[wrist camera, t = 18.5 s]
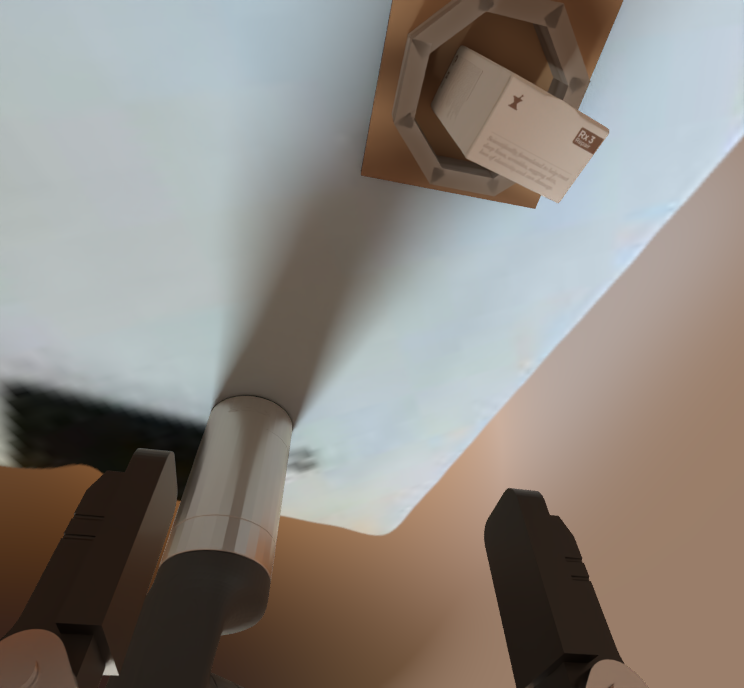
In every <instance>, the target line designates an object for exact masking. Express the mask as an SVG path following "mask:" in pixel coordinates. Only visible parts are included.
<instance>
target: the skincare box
mask: <svg viewBox="0 0 744 688" xmlns="http://www.w3.org/2000/svg"><path fill="white" fill-rule="evenodd" d="M431 108H432V110H433V111H434V113H435V114H436V116H437V117H438V118H439V120H440V121H441V122H442V124H443V125H444V127H445V128H446V130H447V131H448V133H449V134H450V136H451V137H452V138H453V140H454V141H455V143H456V144H457V145H458V147H459V148H460V149H461V151H462V153H463V154H464V156H465V158H466V159H468V160H470V161H472V162H474V163H477V164H479V165H481V166H483V167H485V168H487V169H489V170H491V171H493V172H495V173H497V174H499V175H501V176H503V177H505V178H507V179H509V180H511V181H513V182H515V183H517V184H519V185H521V186H523V187H525V188H527V189H530V190H532V191H534V192H536V193H538V194H540V195H542V196H544V197H546V198H548V199H550V200H553V201H555V202H556V203H559V202H560V201H561V199H562V198H563V197H564V195H565V194H566V192H567V191H568V189H569V188H570V187H571V185H572V184H573V183H574V181H575V180H576V178H577V177H578V176H579V174H580V173H581V171H582V170H583V169H584V167H585V166H586V164H587V163H588V162H589V160H590V159H591V157H592V156H593V155H594V153H595V152H596V151H597V149H598V148H599V146H600V145H601V144H602V142H603V141H604V139H605V138H606V137H607V136H608V134H609V129H608V128H606V127H605V126H603V125H602V124H600V123H598V122H597V121H595V120H593V119H592V118H590V117H588V116H587V115H585V114H583V113H582V112H580V111H578V110H577V109H575V108H573V107H572V106H570V105H569V104H568V103H566V102H564V101H563V100H561V99H559V98H556V97H555V96H553V95H551V94H550V93H548V92H546V91H544V90H543V89H541V88H539V87H538V86H536V85H534V84H532V83H531V82H529V81H527V80H526V79H524V78H522V77H520V76H518V75H517V74H515V73H513V72H511V71H510V70H508V69H506V68H504V67H502V66H500V65H499V64H497V63H495V62H493V61H491V60H489V59H488V58H486V57H484V56H482V55H480V54H479V53H477V52H475V51H473V50H471V49H469V48H467V47H465V46H463V45H462V46H460V47H459V49H458V51H457V53H456V55H455V57H454V59H453V61H452V63H451V64H450V66H449V68H448V70H447V72H446V74H445V76H444V78H443V80H442V82H441V84H440V86H439V88H438V90H437V92H436V94H435V97H434V99H433V101H432V103H431Z"/></svg>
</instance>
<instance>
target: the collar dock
mask: <svg viewBox="0 0 744 688" xmlns="http://www.w3.org/2000/svg"><path fill="white" fill-rule="evenodd" d="M622 2H623V0H392V5H391V10H390V16H389V21H388V27H387V32H386V38H385V43H384V49H383V54H382V60H381V65H380V71H379V76H378V82H377V87H376V92H375V98H374V103H373V109H372V114H371V120H370V125H369V131H368V136H367V142H366V147H365V153H364V158H363V164H362V169H361V175H362V176H367V177H372V178H377V179H383V180H388V181H393V182H398V183H403V184H409V185H414V186H419V187H424V188H430V189H435V190H440V191H445V192H450V193H456V194H461V195H466V196H471V197H476V198H482V199H487V200H492V201H497V202H503V203H508V204H513V205H518V206H523V207H529V208H534V209H535V208H536V205H537V203H538V201H539V198H540V196H541V195H540V194H538V193H536V192H534V191H532V190H530V189H527V188H525V187H523V186H521V185H519V184H517V183H515V182H513V181H511V180H509V179H507V178H505V177H503V176H501V175H499V174H497V173H495V172H493V171H491V170H489V169H487V168H485V167H483V166H481V165H479V164H477V163H474V162H472V161H470V160H468V159H466V158H465V156H464V154H463V153H462V151H461V149H460V148H459V147H458V145H457V144H456V143H455V141H454V140H453V138H452V137H451V136H450V134H449V133H448V131H447V130H446V128H445V127H444V125H443V124H442V122H441V121H440V120H439V118H438V117H437V116H436V114H435V113H434V111H433V110H432V108H431V103H432V101H433V99H434V97H435V94H436V92H437V90H438V88H439V86H440V84H441V82H442V80H443V78H444V76H445V74H446V72H447V70H448V68H449V66H450V64H451V63H452V61H453V59H454V57H455V55H456V53H457V51H458V49H459V47H460V46H462V45H463V46H465V47H467V48H469V49H471V50H473V51H475V52H477V53H479V54H480V55H482V56H484V57H486V58H488V59H489V60H491V61H493V62H495V63H497V64H499V65H500V66H502V67H504V68H506V69H508V70H510V71H511V72H513V73H515V74H517V75H518V76H520V77H522V78H524V79H526V80H527V81H529V82H531V83H532V84H534V85H536V86H538V87H539V88H541V89H543V90H544V91H546V92H548V93H550V94H551V95H553V96H555V97H556V98H559V99H561V100H563V101H564V102H566V103H568V104H569V105H570V106H572V107H573V108H575V109H577V110H578V109H579V106H580V104H581V102H582V99H583V97H584V94H585V92H586V90H587V87H588V85H589V83H590V78H591V76H592V73H593V71H594V68H595V66H596V64H597V61H598V59H599V57H600V54H601V52H602V50H603V47H604V45H605V42H606V40H607V38H608V35H609V33H610V31H611V28H612V26H613V24H614V21H615V19H616V17H617V14H618V12H619V9H620V7H621V5H622Z"/></svg>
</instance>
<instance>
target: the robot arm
mask: <svg viewBox="0 0 744 688" xmlns="http://www.w3.org/2000/svg"><path fill="white" fill-rule="evenodd" d="M292 428H293V427H292V421H291V419H290V417H289V415H288V414H287V413H286V412H285V410H283V409H282V408H281V407H280V406H278V405H277V404H275V403H273V402H271V401H269V400H266V399H263V398H259V397H254V396H237V397H232V398H229V399H226V400H224V401H222V402H220V403H219V404H217V405H216V406H215V407H214V408H213V410H212V411H211V413H210V416H209V419H208V422H207V425H206V428H205V431H204V434H203V437H202V440H201V442H200V445H199V448H198V451H197V454H196V457H195V460H194V463H193V466H192V469H191V472H190V475H189V478H188V481H187V484H186V487H185V490H184V493H183V496H182V499H181V502H180V506H179V508H178V512H177V514H176V517H175V520H174V523H173V526H172V529H171V532H170V536H169V539H168V542H167V545H166V548H165V551H164V554H163V557H162V560H161V563H160V566H159V569H158V572H157V575H156V578H155V580H154V583H153V585H152V587H151V589H150V590H149V592H148V593H147V591H148V588H149V585H150V582H151V579H152V576H153V573H154V570H155V568H156V565H157V561H158V559H159V556H160V553H161V550H162V547H163V544H164V541H165V538H166V535H167V532H168V529H169V526H170V523H171V520H172V517H173V513H174V510H175V506H176V500H177V480H176V468H175V456H174V453H173V452H170V451H161V450H151V449H142V448H139V449H137V450H136V451H135V453H134V455H133V456H132V459H131V461H130V463H129V465H128V467H127V469H126V471H125V472H117V471H106V472H105V473H104V474H103V475H102V476H101V477H100V478H99V479H98V480H97V481H96V482H95V483H94V484H92V485H91V486H90V488H88V489H87V490H86V492H85V494H84V496H83V498H82V500H81V502H80V504H79V505H78V507H77V509H76V511H75V513H74V517H73V519H71V521H70V523H69V525H68V527H67V528H66V530H65V532H64V536H63V538H61V540H60V542H59V544H58V546H57V548H56V549H55V551H54V554H53V555H52V557H51V559H50V561H49V563H48V565H47V567H46V569H45V571H44V572H43V574H42V576H41V578H40V580H39V582H38V584H37V586H36V588H35V590H34V592H33V593H32V595H31V597H30V599H29V601H28V603H27V605H26V607H25V609H24V611H23V612H22V614H21V616H20V617H19V619H18V621H17V622H16V623H15V625H14V626H13V627H12V628H11V630H10V631H9V632H8V633H7V634H6V635H5V636H4V637H2V638H1V639H0V688H98V686H99V684H100V681H101V678H102V675H110V678H109V680H108V683H107V685H106V687H105V688H243V687H241V686H239V685H237V684H235V683H233V682H231V681H228V680H226V679H224V678H222V677H220V676H218V675H215V674H213V673H211V669H212V665H213V661H214V657H215V654H216V650H217V647H218V643H219V640H220V637H221V635H227V634H232V633H236V632H240V631H243V630H245V629H247V628H250V627H252V626H253V625H255V624H256V623H257V622H258V621H259V620H260V619H261V618H262V616H263V615H264V613H265V610H266V607H267V603H268V597H269V589H270V582H271V576H272V569H273V562H274V555H275V547H276V540H277V533H278V525H279V519H280V512H281V505H282V498H283V491H284V484H285V477H286V470H287V463H288V457H289V450H290V442H291V435H292ZM484 541H485V548H486V552H487V557H488V561H489V565H490V570H491V575H492V579H493V584H494V588H495V593H496V597H497V602H498V607H499V611H500V616H501V620H502V625H503V628H504V634H505V638H506V642H507V647H508V652H509V656H510V661H511V665H512V670H513V674H514V679H515V683H516V688H648V686H647V685H646V683H645V682H644V681H643V679H642V678H641V677H640V676H639V675H638V674H637V673H636V672H635V671H633V670H632V669H631V668H629V667H628V666H626V665H625V664H624V662H623V661H622V659H621V657H620V655H619V653H618V651H617V648H616V646H615V643H614V640H613V638H612V635H611V633H610V630H609V627H608V625H607V622H606V620H605V617H604V614H603V612H602V609H601V607H600V604H599V601H598V599H597V596H596V594H595V591H594V588H593V585H592V583H591V581H589V575H588V572H587V570H586V567H585V565H584V563H582V557H581V554H580V551H579V549H578V546H577V544H576V541H575V539H574V536H573V535H572V533H571V532H570V531H569V529H568V528H567V527H566V525H565V524H564V523H563V521H562V520H561V519H560V517H559V516H554V515H550V514H549V512H548V509H547V506H546V503H545V500H544V498H543V496H542V495H541V494H540V493H539V492H538V491H531V490H522V489H512V488H508V489H507V490H506V491H505V492H504V493H503V495H502V497H501V498H500V500H499V502H498V503H497V505H496V507H495V508H494V510H493V511H492V513H491V515H490V516H489V518H488V520H487V522H486V525H485V531H484ZM146 594H147V595H146Z"/></svg>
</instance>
